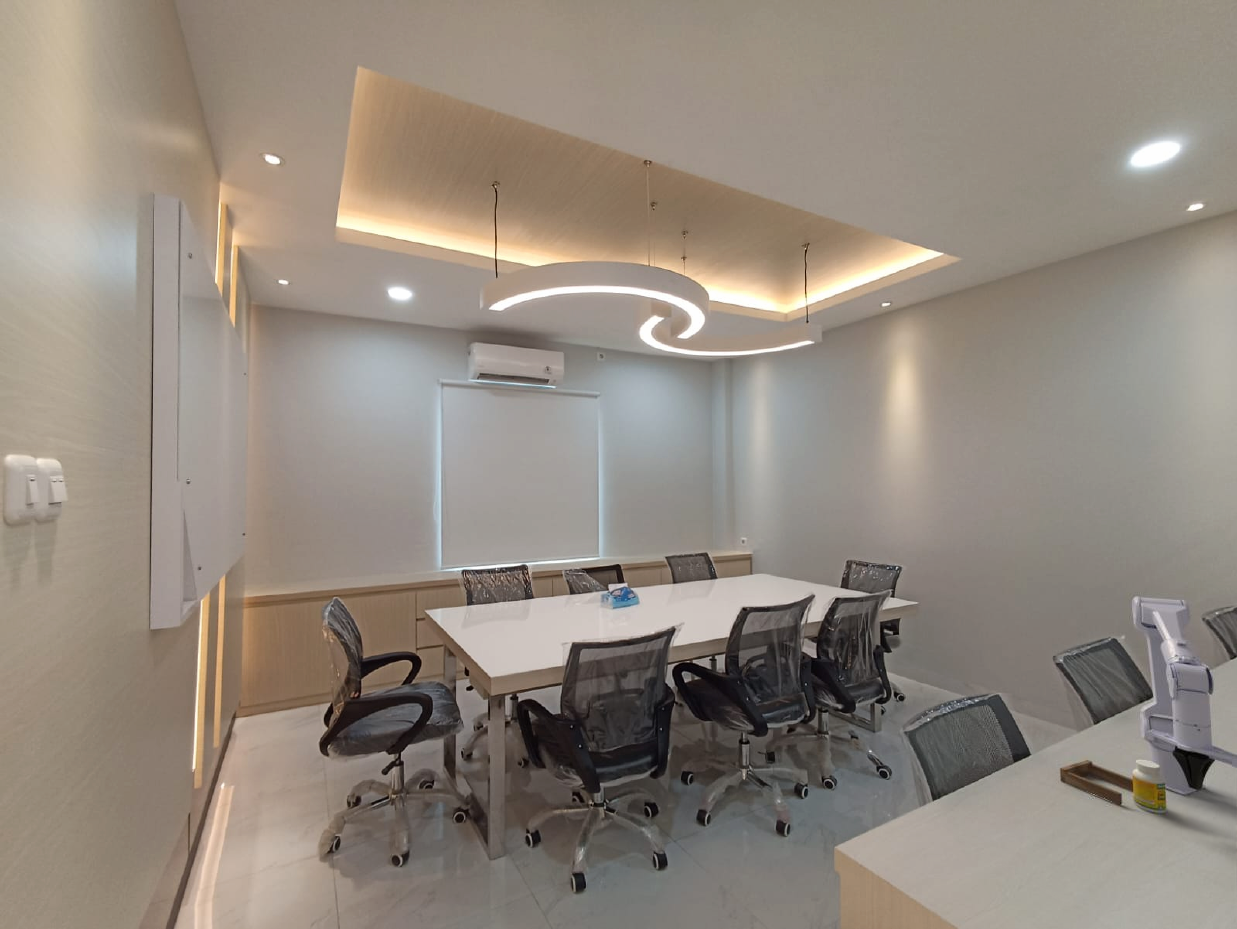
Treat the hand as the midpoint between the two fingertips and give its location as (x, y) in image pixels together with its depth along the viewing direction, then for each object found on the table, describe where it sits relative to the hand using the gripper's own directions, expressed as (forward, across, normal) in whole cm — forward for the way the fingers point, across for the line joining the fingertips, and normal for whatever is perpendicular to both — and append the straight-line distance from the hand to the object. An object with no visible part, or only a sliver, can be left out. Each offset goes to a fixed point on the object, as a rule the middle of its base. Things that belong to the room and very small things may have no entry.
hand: (1195, 787), depth 119 cm
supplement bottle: (+8, -8, 0) cm, 12 cm away
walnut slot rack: (+8, -17, 0) cm, 18 cm away
